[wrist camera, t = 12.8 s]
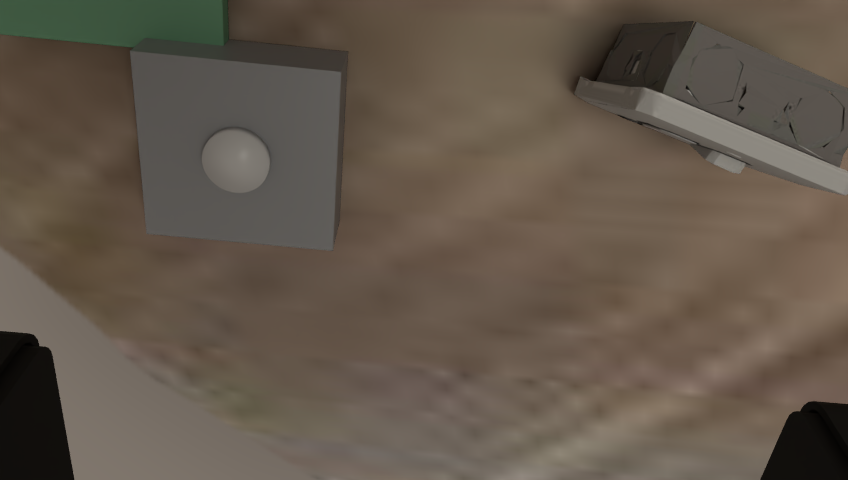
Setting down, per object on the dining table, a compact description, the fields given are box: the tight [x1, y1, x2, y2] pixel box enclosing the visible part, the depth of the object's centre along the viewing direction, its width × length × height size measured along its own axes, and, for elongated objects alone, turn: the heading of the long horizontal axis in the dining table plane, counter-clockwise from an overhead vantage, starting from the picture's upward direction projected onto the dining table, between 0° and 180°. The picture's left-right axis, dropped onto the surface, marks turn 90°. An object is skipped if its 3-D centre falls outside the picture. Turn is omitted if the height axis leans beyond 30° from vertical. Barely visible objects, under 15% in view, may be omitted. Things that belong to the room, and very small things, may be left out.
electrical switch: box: [574, 21, 848, 195], centre depth 33 cm, size 9×5×9 cm, turn 68°
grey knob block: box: [130, 38, 348, 251], centre depth 37 cm, size 9×9×4 cm
